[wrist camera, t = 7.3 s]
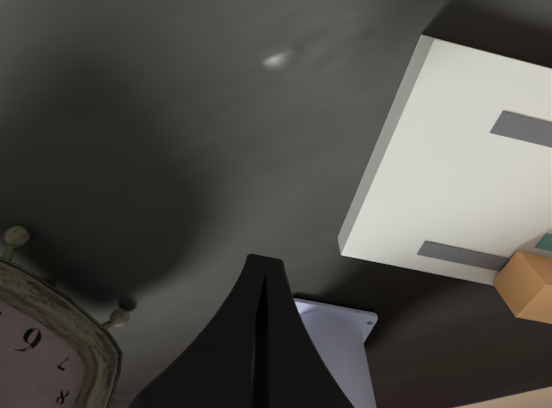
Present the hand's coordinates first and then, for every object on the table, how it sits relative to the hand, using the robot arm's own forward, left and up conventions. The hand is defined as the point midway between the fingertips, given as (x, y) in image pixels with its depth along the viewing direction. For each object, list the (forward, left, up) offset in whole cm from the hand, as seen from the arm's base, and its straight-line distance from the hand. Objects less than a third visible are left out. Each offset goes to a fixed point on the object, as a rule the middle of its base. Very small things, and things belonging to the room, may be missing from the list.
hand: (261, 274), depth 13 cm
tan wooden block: (-3, -19, -8) cm, 21 cm away
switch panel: (+2, -16, -10) cm, 19 cm away
